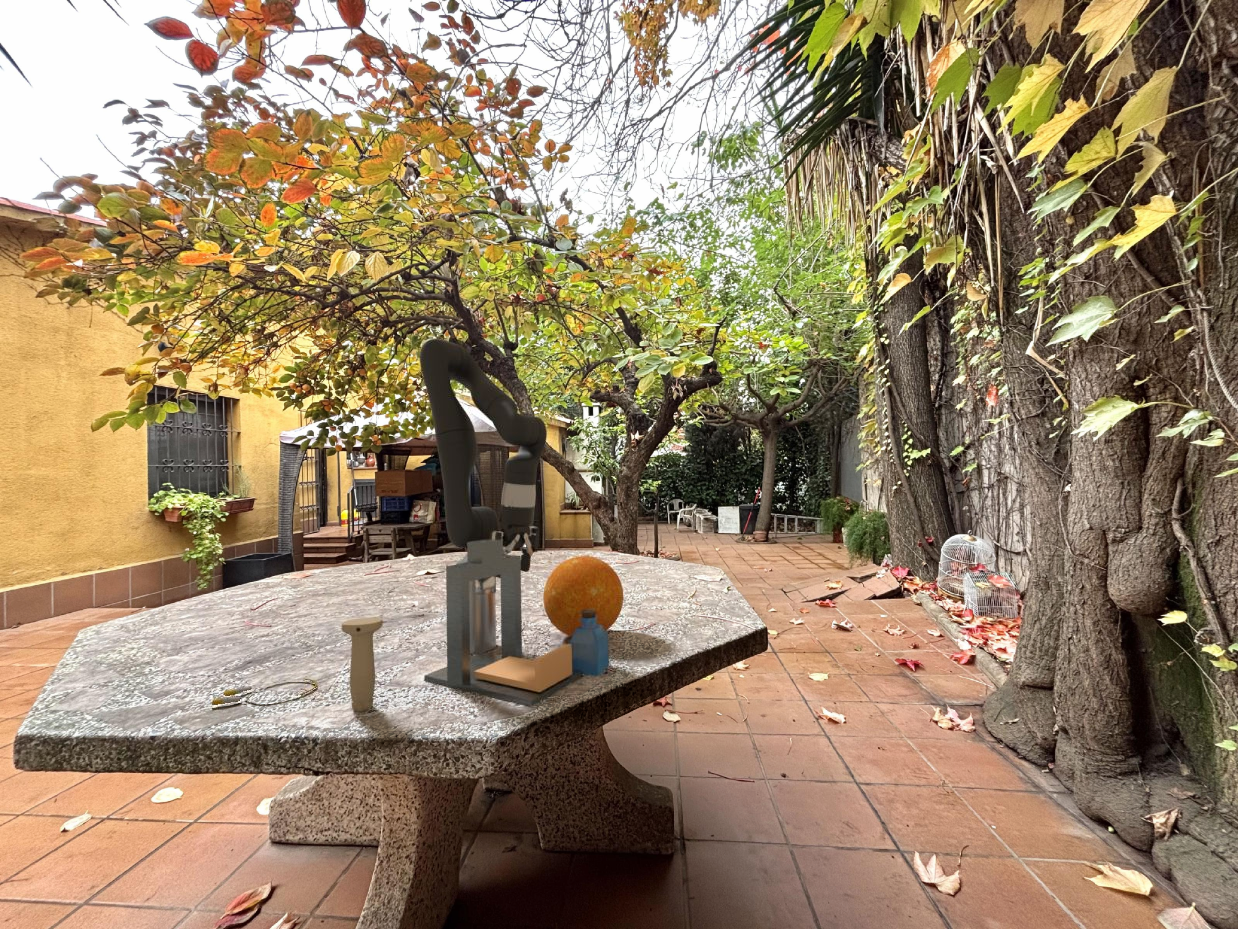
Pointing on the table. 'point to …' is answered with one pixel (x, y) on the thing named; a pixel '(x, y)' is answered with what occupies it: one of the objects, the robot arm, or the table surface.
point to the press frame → (483, 568)
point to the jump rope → (239, 690)
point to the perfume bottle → (590, 645)
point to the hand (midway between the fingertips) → (511, 574)
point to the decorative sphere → (582, 593)
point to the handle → (362, 660)
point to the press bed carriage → (530, 670)
